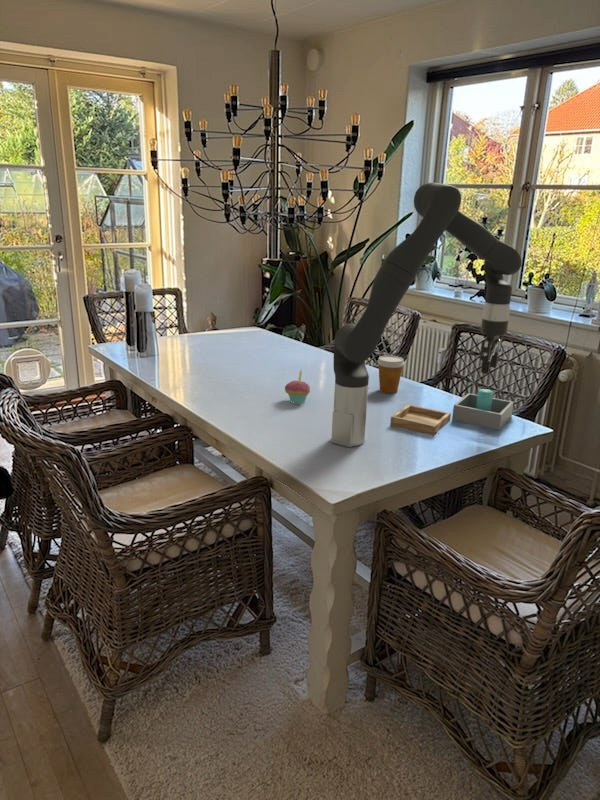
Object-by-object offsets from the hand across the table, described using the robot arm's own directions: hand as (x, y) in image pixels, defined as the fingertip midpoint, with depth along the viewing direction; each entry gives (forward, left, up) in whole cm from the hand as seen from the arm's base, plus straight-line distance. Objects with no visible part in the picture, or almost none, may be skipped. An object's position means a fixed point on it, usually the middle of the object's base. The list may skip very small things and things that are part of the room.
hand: (488, 370), depth 187 cm
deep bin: (0, 0, -17) cm, 17 cm away
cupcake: (-19, +57, -17) cm, 63 cm away
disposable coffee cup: (+11, +37, -17) cm, 42 cm away
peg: (0, 0, -16) cm, 16 cm away
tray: (-14, +15, -17) cm, 27 cm away
